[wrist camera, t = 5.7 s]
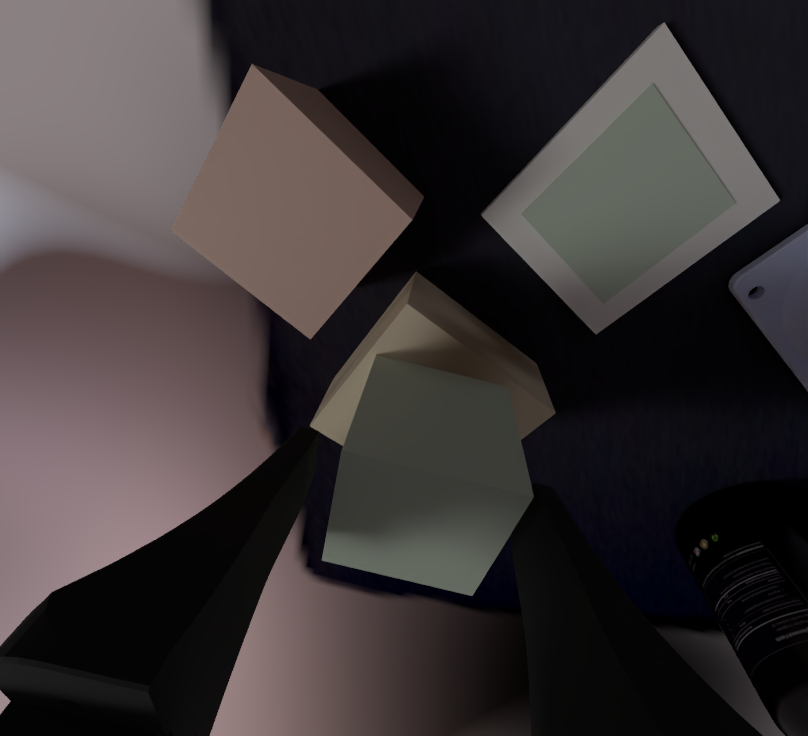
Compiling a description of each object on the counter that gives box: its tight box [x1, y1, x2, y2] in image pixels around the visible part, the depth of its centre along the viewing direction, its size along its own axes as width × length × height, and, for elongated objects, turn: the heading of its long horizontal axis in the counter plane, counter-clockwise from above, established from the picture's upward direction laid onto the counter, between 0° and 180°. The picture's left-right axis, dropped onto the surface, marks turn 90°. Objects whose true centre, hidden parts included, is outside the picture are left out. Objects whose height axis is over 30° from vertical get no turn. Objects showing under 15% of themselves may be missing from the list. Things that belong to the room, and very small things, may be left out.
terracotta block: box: [171, 64, 424, 339], centre depth 13 cm, size 5×5×5 cm
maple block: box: [310, 271, 555, 446], centre depth 17 cm, size 7×7×4 cm
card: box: [481, 23, 780, 334], centre depth 13 cm, size 7×7×1 cm
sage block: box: [322, 354, 534, 596], centre depth 13 cm, size 5×5×5 cm
